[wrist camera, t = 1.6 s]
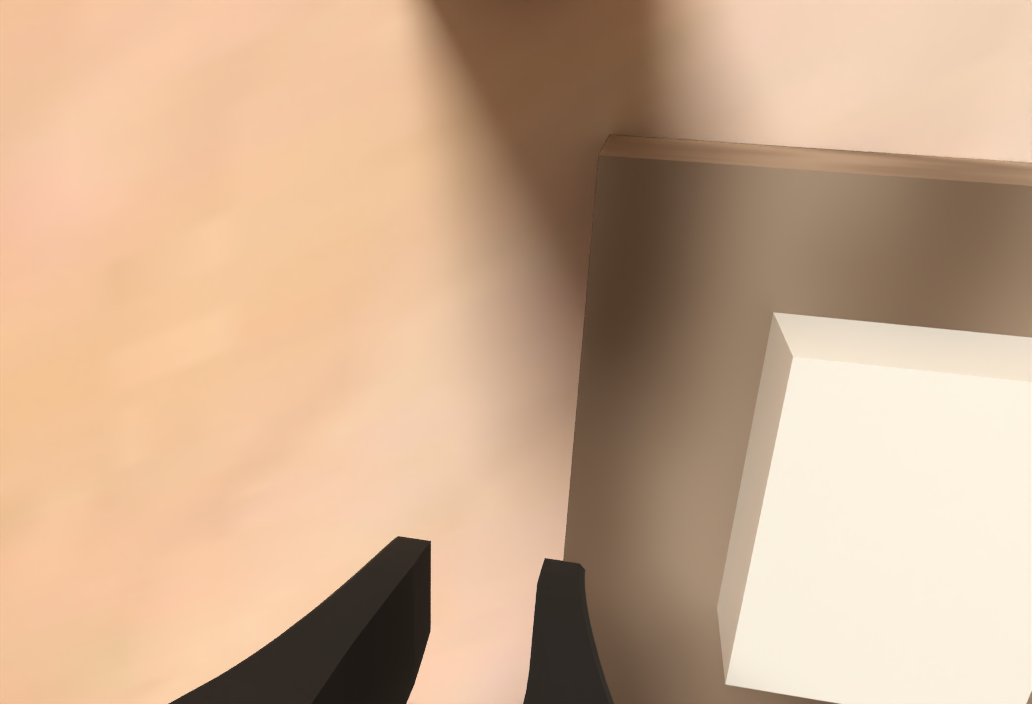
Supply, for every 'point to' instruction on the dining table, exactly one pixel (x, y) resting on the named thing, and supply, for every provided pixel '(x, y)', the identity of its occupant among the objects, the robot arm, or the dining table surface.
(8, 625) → the dining table surface
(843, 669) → the tile
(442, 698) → the dining table surface
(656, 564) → the brown flat block
